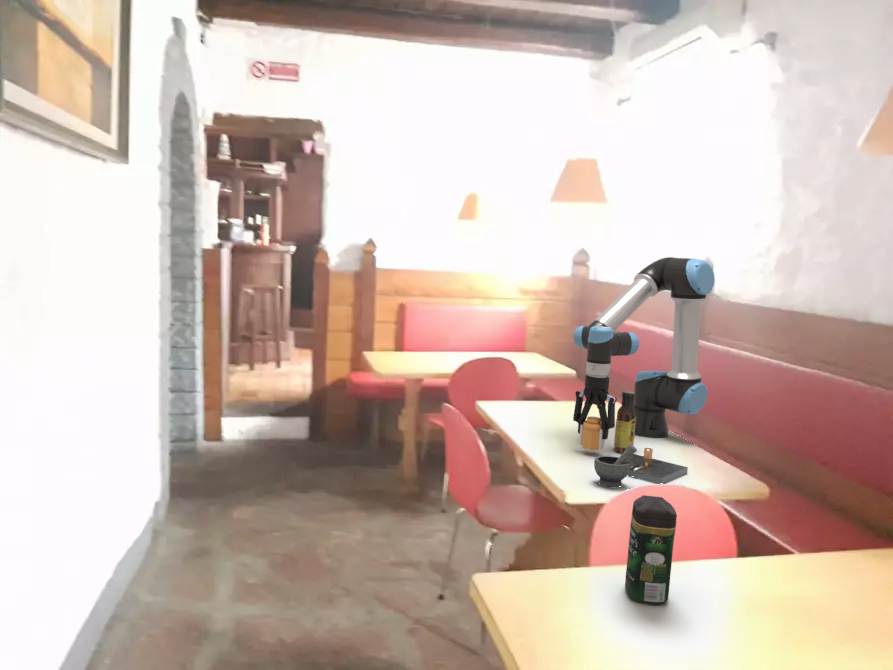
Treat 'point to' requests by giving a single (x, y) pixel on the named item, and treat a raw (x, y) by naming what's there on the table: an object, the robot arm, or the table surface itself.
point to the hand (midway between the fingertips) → (591, 446)
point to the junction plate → (654, 468)
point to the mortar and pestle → (613, 467)
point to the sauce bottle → (625, 423)
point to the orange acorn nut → (591, 433)
